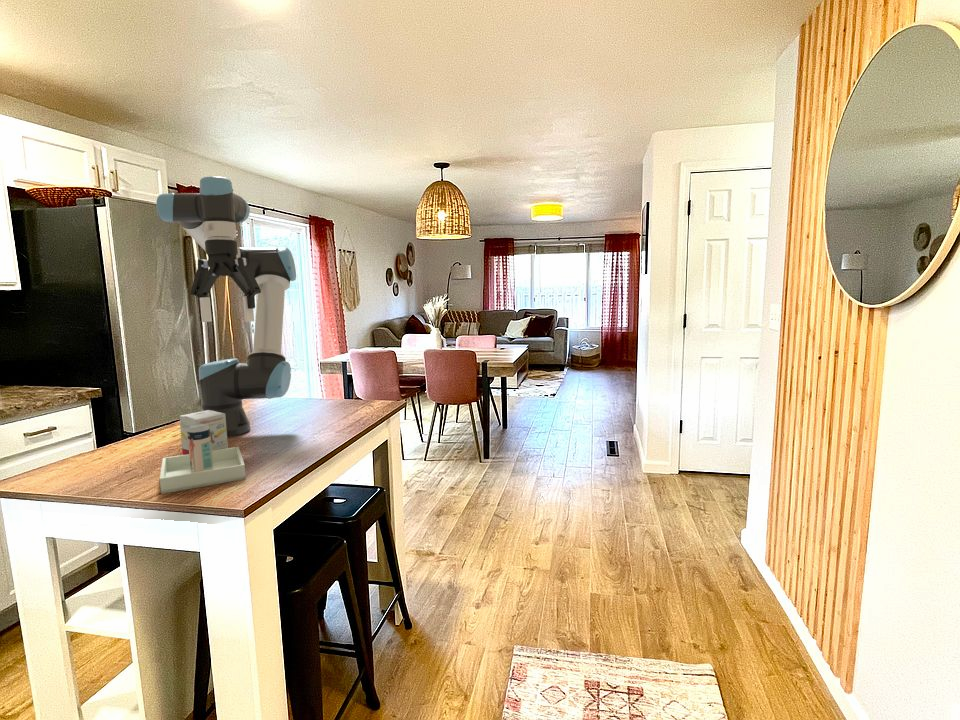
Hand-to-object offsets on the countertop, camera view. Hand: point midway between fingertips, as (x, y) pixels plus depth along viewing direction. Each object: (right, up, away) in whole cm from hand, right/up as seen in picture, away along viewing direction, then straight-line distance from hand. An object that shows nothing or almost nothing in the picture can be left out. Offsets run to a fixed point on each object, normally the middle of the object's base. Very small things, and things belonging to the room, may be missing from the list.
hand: (228, 321), depth 139 cm
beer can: (-1, -38, -10) cm, 39 cm away
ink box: (-9, -37, +6) cm, 38 cm away
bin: (-1, -38, -10) cm, 40 cm away
